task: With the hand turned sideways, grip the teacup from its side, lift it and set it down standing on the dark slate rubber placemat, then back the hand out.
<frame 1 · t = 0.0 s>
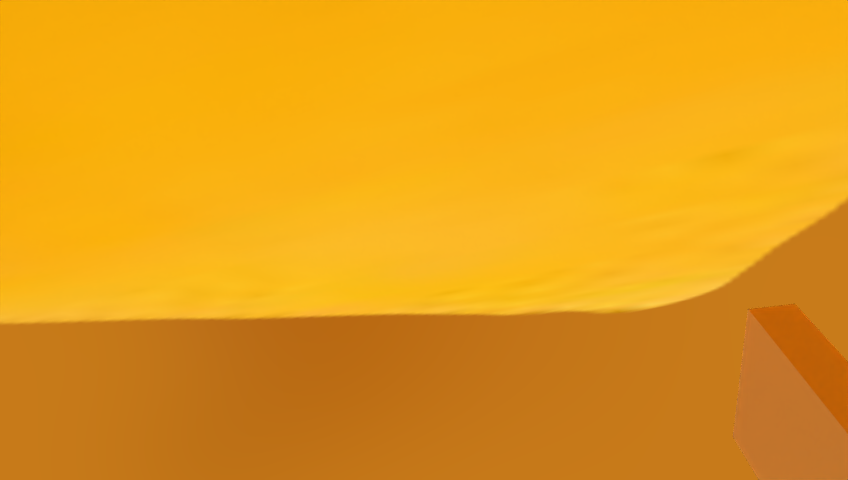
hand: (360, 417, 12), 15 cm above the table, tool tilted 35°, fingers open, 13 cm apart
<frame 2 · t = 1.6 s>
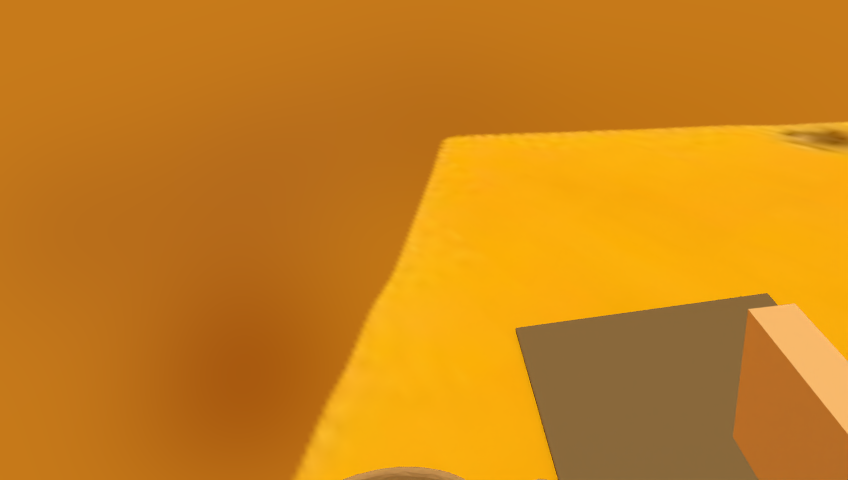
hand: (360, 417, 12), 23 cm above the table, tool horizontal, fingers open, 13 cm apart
placemat: (694, 406, 44), on the table
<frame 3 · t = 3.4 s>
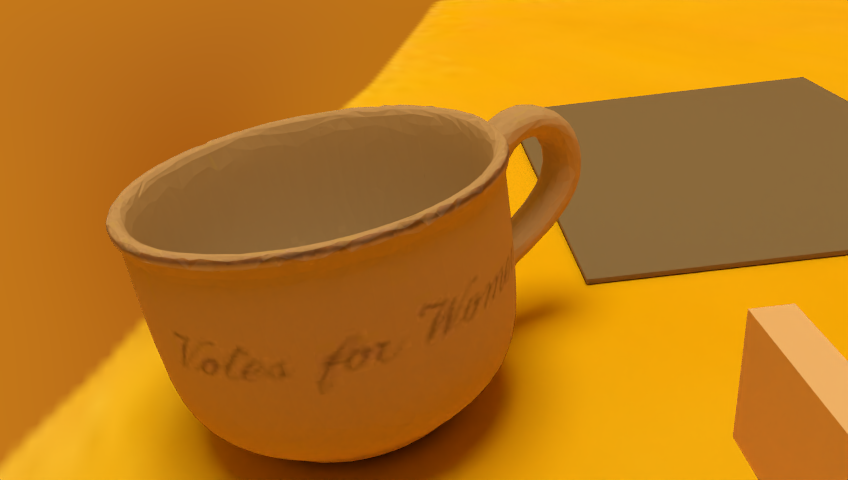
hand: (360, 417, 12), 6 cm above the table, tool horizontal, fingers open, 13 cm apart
teacup: (402, 379, 24), on the table
placemat: (720, 157, 36), on the table
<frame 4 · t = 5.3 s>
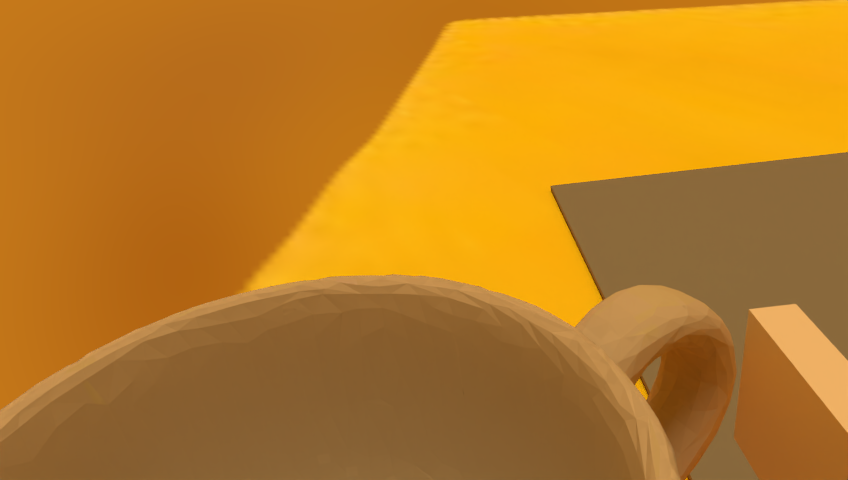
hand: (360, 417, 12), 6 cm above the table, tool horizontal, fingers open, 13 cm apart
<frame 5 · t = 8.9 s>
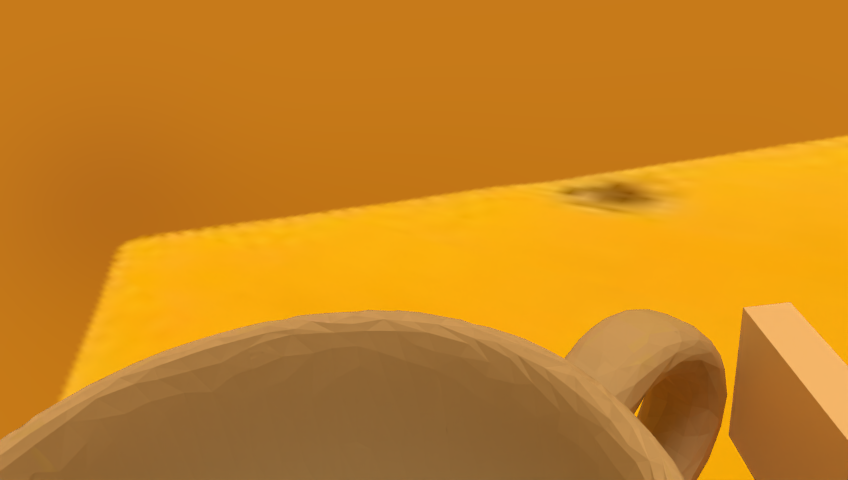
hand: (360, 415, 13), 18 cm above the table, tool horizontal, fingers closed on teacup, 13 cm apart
when the fingers open (8 cm above the table, at t = 12.0 s): teacup drops 1 cm, resting on placemat.
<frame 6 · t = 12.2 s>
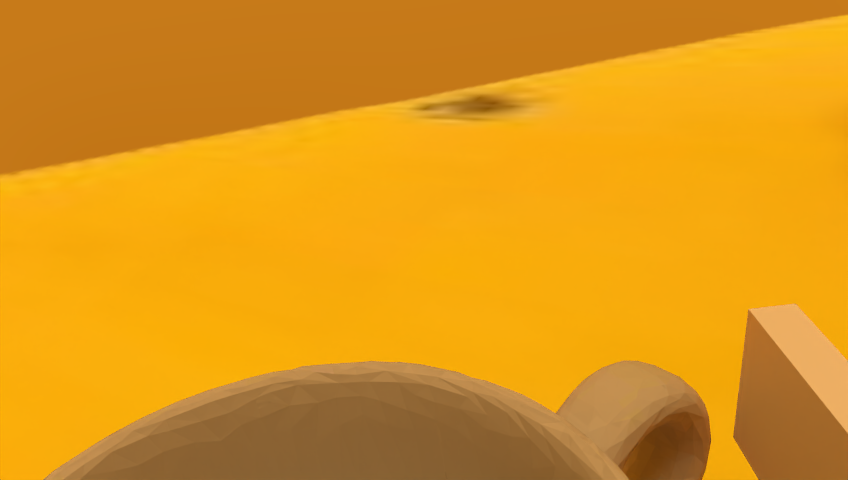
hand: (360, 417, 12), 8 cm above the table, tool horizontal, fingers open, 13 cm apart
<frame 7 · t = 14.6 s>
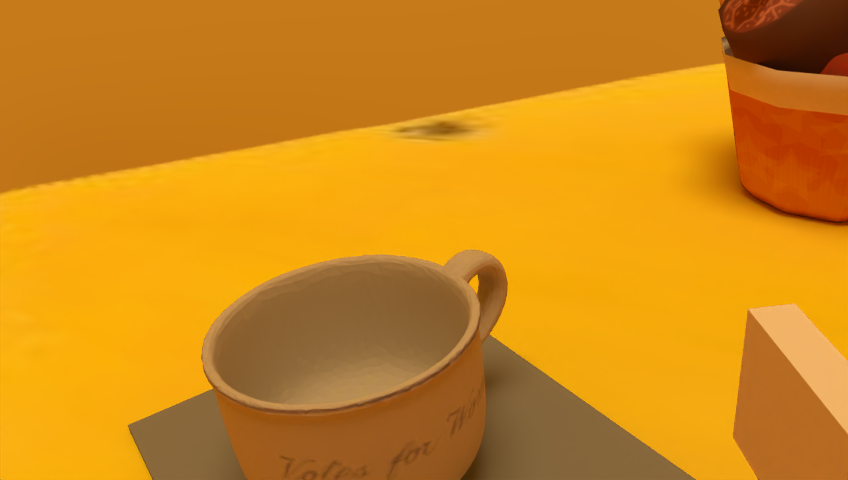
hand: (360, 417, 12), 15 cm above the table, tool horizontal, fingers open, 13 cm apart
teacup: (398, 455, 33), resting on placemat
placemat: (392, 460, 32), on the table
bucket of meat: (832, 191, 53), on the table
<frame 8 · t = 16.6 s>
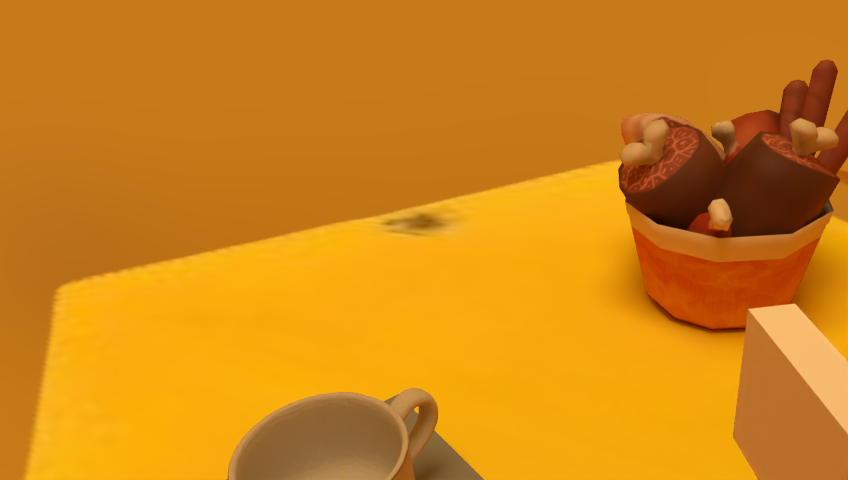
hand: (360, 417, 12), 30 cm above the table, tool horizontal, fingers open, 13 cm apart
bucket of meat: (719, 297, 67), on the table
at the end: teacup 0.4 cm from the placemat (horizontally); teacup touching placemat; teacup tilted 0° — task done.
